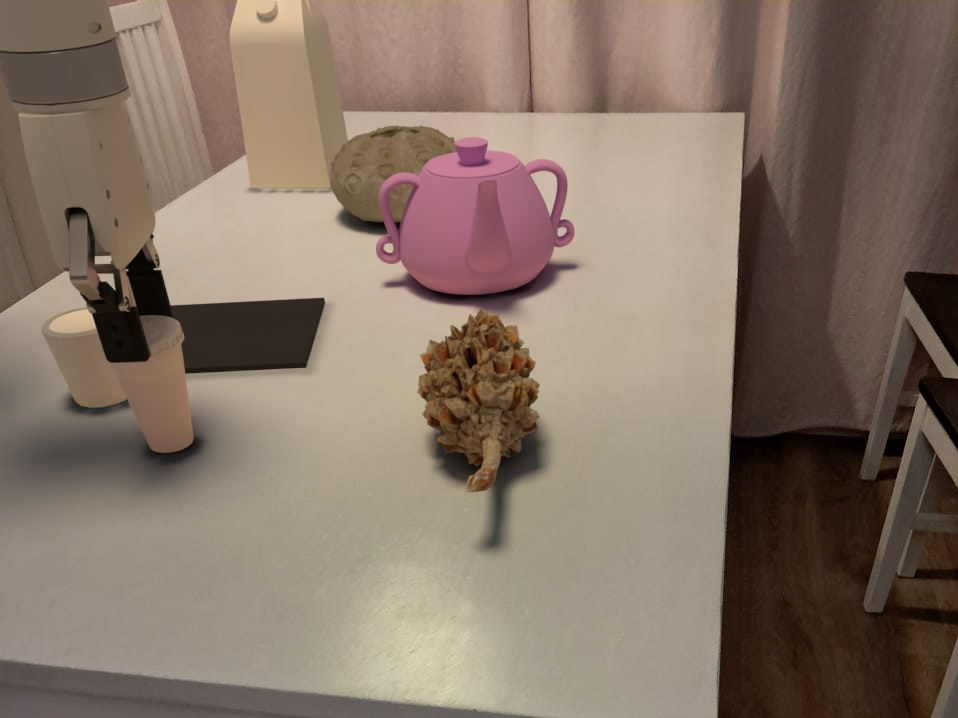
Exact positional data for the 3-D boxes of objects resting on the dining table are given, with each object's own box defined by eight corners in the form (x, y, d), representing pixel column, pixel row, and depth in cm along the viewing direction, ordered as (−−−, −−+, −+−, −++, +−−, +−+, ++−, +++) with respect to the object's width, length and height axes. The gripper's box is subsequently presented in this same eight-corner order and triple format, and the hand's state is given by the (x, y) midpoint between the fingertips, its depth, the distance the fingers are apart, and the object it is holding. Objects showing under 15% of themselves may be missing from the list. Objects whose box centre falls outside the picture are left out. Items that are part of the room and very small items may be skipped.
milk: (352, 165, 140) (325, -47, 123) (330, 188, 132) (297, -36, 114) (277, 165, 142) (240, -44, 125) (250, 187, 134) (207, -33, 116)
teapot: (390, 334, 93) (373, 187, 84) (374, 259, 109) (359, 129, 100) (602, 310, 95) (609, 164, 86) (556, 240, 111) (557, 111, 102)
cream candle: (147, 372, 89) (125, 300, 84) (139, 405, 84) (116, 331, 79) (74, 381, 88) (47, 309, 83) (62, 415, 83) (33, 340, 78)
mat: (98, 377, 89) (97, 372, 88) (142, 311, 100) (141, 306, 100) (305, 367, 88) (304, 362, 88) (325, 301, 100) (324, 297, 100)
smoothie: (138, 468, 75) (83, 297, 65) (127, 433, 79) (73, 268, 70) (217, 449, 76) (174, 280, 67) (201, 416, 81) (159, 253, 72)
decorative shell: (324, 204, 126) (311, 122, 119) (448, 186, 130) (442, 105, 123) (351, 244, 113) (339, 155, 107) (488, 223, 117) (485, 136, 110)
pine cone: (417, 408, 81) (406, 296, 74) (526, 398, 81) (524, 285, 75) (435, 557, 64) (423, 429, 58) (571, 543, 65) (574, 414, 58)
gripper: (52, 52, 66) (125, 298, 78) (-48, 109, 53) (57, 394, 65) (156, 47, 66) (212, 295, 78) (81, 104, 53) (162, 390, 65)
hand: (141, 338), depth 72 cm, fingers closed on smoothie, 6 cm apart
